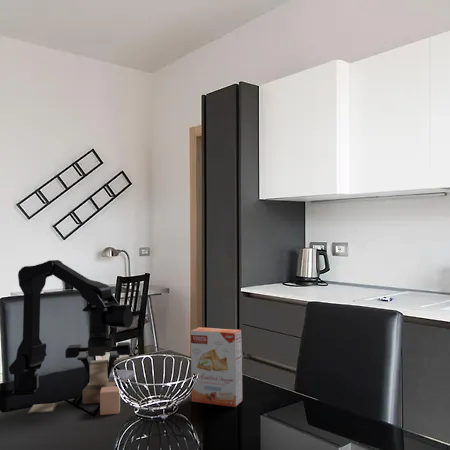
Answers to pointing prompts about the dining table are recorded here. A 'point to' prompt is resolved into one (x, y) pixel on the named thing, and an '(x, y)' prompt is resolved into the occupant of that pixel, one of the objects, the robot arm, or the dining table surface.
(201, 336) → the cracker box
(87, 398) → the walnut base block
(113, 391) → the terracotta block
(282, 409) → the dining table surface
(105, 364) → the oak block
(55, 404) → the tile
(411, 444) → the dining table surface
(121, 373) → the stone block
